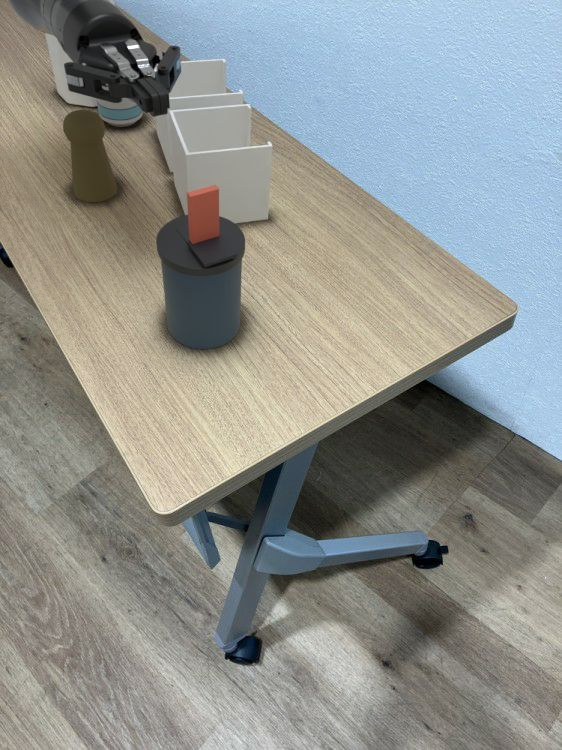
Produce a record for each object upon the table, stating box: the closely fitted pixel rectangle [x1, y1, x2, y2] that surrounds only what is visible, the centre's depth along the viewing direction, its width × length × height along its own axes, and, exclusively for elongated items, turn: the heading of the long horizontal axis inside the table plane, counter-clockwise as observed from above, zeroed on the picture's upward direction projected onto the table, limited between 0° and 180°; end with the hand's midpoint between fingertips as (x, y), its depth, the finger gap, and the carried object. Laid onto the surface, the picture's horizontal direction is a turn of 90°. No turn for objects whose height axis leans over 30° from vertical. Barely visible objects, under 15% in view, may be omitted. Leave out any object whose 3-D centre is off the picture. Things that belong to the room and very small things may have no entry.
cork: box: [62, 109, 118, 203], centre depth 83 cm, size 6×6×11 cm
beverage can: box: [96, 86, 144, 128], centre depth 95 cm, size 7×7×12 cm
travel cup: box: [155, 214, 246, 350], centre depth 67 cm, size 9×9×12 cm
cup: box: [44, 0, 116, 108], centre depth 98 cm, size 11×11×18 cm
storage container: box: [154, 58, 274, 224], centre depth 87 cm, size 25×11×11 cm, turn 17°
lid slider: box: [187, 185, 237, 267], centre depth 59 cm, size 4×4×6 cm
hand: (160, 106), depth 59 cm, fingers closed
